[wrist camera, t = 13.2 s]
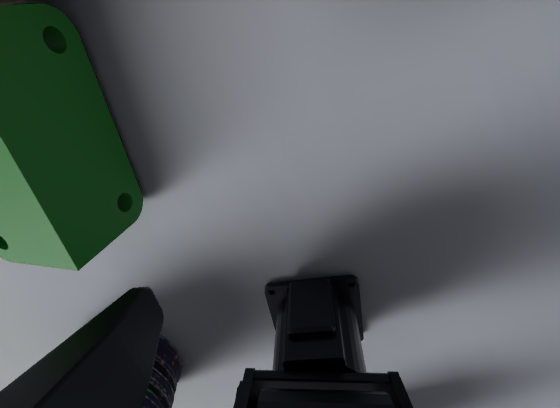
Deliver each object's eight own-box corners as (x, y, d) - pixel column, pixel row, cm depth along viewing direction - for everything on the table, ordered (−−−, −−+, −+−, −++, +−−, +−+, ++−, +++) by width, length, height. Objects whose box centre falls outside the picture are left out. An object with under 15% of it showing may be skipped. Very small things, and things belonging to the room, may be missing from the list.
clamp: (55, 53, 21) (-179, -19, 12) (131, 41, 19) (-84, -53, 10) (73, 239, 23) (-122, 290, 14) (145, 246, 21) (-30, 309, 12)
